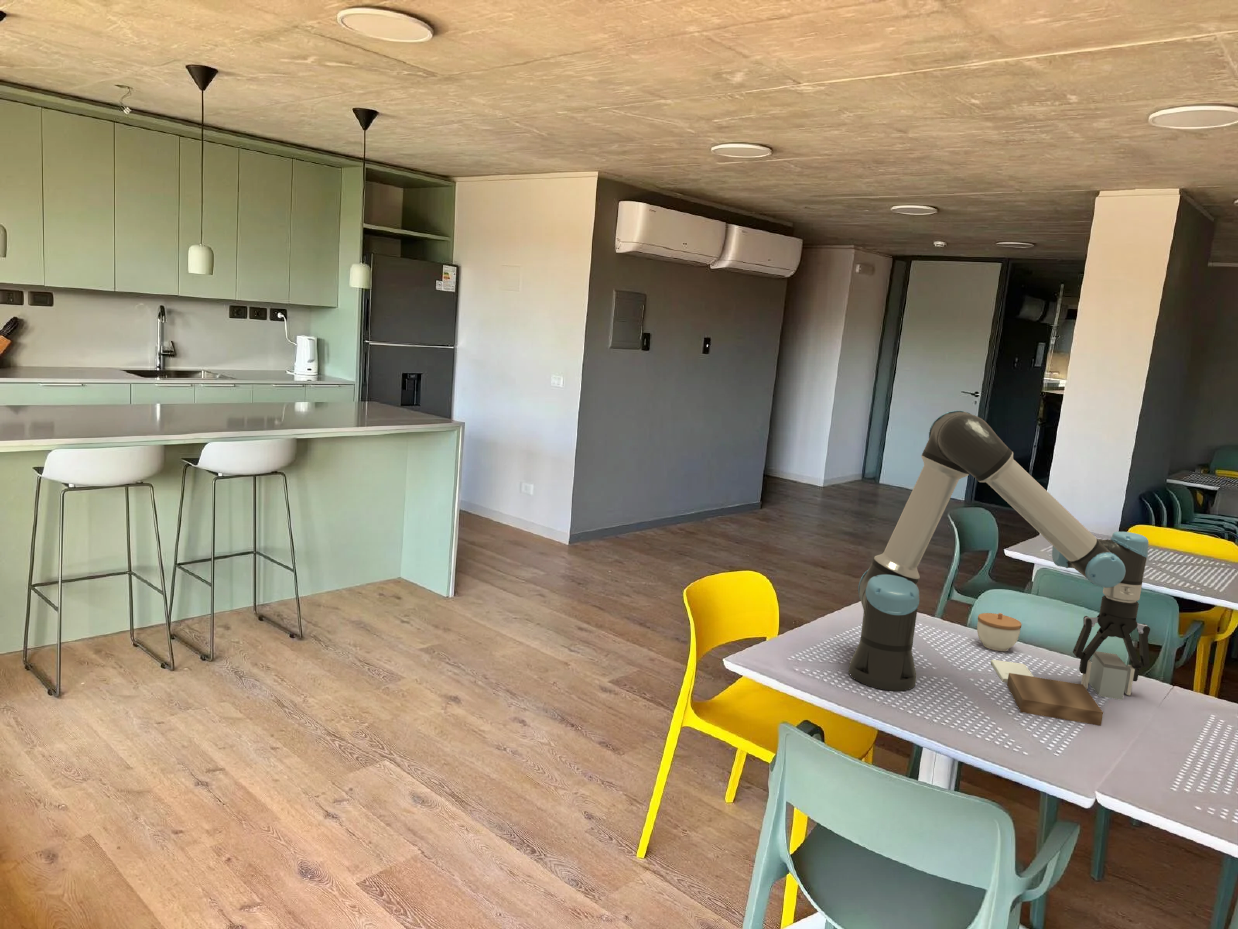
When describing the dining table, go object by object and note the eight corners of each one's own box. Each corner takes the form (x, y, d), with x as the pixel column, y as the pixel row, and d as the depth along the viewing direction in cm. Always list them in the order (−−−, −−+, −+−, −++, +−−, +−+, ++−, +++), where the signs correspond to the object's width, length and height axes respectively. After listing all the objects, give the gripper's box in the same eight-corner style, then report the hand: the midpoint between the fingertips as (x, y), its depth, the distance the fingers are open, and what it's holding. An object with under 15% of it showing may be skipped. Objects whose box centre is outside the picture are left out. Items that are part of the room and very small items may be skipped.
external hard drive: (1024, 670, 214) (1038, 689, 202) (990, 665, 216) (1002, 684, 204) (1025, 664, 214) (1039, 683, 202) (991, 659, 216) (1003, 677, 204)
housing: (1098, 696, 200) (1104, 664, 198) (1088, 682, 208) (1093, 651, 207) (1122, 700, 198) (1128, 667, 197) (1110, 685, 207) (1116, 654, 206)
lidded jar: (965, 641, 231) (970, 608, 230) (993, 638, 235) (998, 606, 234) (997, 656, 221) (1002, 621, 220) (1026, 652, 226) (1031, 618, 225)
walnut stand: (1020, 712, 187) (1022, 699, 186) (1007, 685, 202) (1008, 672, 202) (1100, 725, 183) (1103, 712, 182) (1080, 696, 198) (1082, 684, 198)
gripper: (1075, 596, 199) (1060, 688, 202) (1177, 609, 194) (1160, 703, 197) (1067, 587, 206) (1053, 676, 209) (1165, 600, 201) (1149, 691, 204)
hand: (1105, 689), depth 203 cm, fingers open, 8 cm apart
